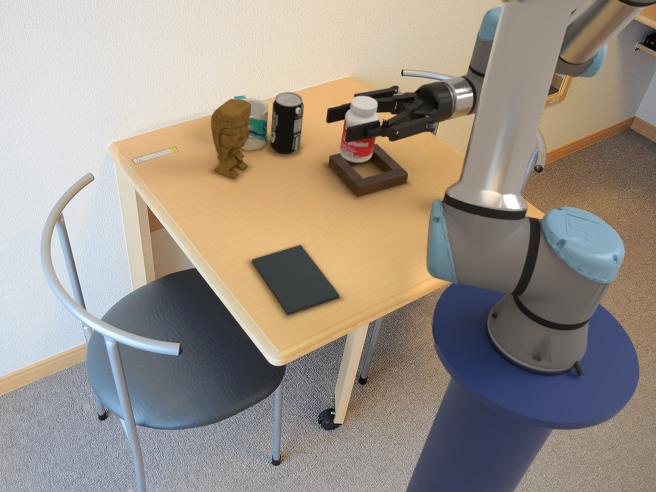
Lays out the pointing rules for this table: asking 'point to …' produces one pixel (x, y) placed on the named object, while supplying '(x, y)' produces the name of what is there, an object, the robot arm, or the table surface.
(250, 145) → the mug
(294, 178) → the table surface
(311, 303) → the mat
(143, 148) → the table surface
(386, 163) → the holder
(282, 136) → the beverage can
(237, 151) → the figurine
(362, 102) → the pill bottle
